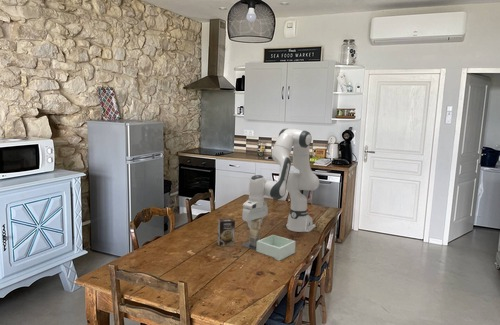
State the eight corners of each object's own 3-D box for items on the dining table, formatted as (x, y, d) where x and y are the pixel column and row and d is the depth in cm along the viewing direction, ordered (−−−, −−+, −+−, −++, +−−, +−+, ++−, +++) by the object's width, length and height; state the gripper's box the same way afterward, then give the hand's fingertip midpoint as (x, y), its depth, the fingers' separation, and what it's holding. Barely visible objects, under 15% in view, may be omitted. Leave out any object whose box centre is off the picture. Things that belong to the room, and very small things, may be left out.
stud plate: (252, 241, 233) (253, 234, 232) (268, 246, 225) (268, 238, 225) (240, 246, 223) (240, 238, 223) (255, 251, 216) (256, 244, 215)
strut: (253, 242, 227) (254, 217, 225) (259, 244, 225) (260, 219, 222) (249, 244, 224) (250, 219, 222) (254, 246, 221) (255, 220, 219)
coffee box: (219, 248, 220) (220, 221, 217) (217, 244, 226) (217, 218, 223) (234, 247, 222) (235, 220, 220) (232, 243, 228) (232, 217, 226)
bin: (272, 245, 227) (273, 234, 226) (294, 252, 217) (295, 241, 216) (256, 252, 215) (256, 241, 214) (279, 260, 205) (279, 248, 204)
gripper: (262, 199, 230) (261, 221, 232) (240, 204, 214) (239, 228, 216) (270, 201, 226) (269, 223, 228) (249, 206, 210) (248, 230, 212)
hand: (254, 225), depth 222 cm, fingers open, 8 cm apart
